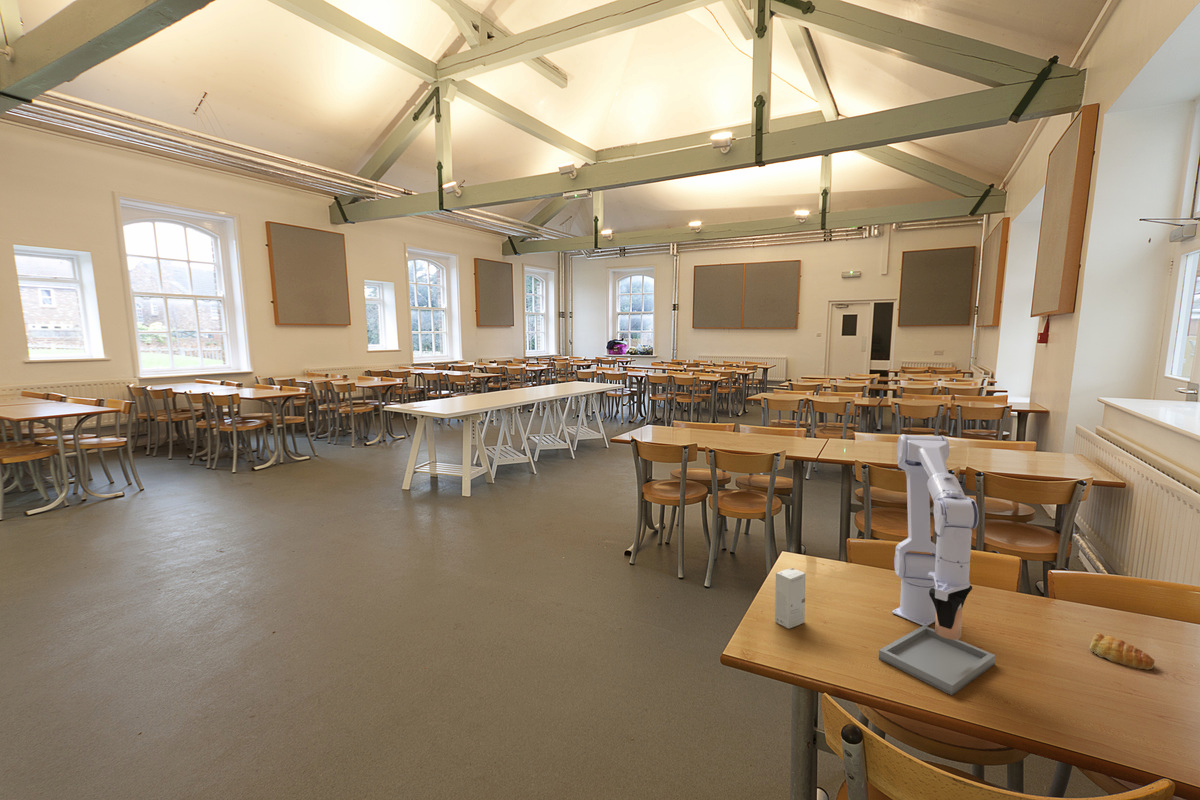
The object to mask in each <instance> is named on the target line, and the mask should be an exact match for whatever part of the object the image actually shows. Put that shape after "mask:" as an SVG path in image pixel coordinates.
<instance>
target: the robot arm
mask: <svg viewBox="0 0 1200 800" xmlns="http://www.w3.org/2000/svg"><path fill="white" fill-rule="evenodd" d="M949 443H950V442H949V440H948V438H947V437H946V436H945V435H924V434H923V435H920V434H919V435H917V434H916V435H915V434H904V433H902V434H900V436H899V437H898V438H897V444H896V462H897V467H898V468H899V469H902V470H904V473H905V477H906V496H907V497H906V498H907V499H906V501H907V509H906V510H907V538H906V539H904V540H902V541H900V542H898V543H897V545H896V546H895V548H894V549H895V554H894V558H893V559H894V560H893V562H894V572H895V574H896V576H897V577H899V578H900V579H901V580H900V581H901V582H900V598H899V600H900V601H899V603H900V604H899V607H897V608H895V609H893V610H892V611H891V613H892V614H895V615H896V616H899V617H900V618H904V619H905V620H906V619H907V620H908V621H910V622H912V623H913V622H914V624H918V625H921V626H923V625H925V626H927V627H929V626H930V625H931V624H933V623H935V620H936V613H937V618H938V623H939V626H942V627H945V628H948V629H952V627H953V624H954V621H955V617H956V613H957V610H958V608H959V606H960V604H961V607H962V609H963V608H964V604H965V601H966V599H967V597H968V595H969V593H970V592H971V591H972V590H973V586H972V585H971V581H970V568H971V567H970V566H971V564H970V563H971V552H972V551H971V550H972V535H973V530H974V529H976V528H977V526H978V524H979V520H980V519H979V518H980V517H979V509H978V508H979V507H978V504H977V502H976V500H975V499H973V498H971V497H970V496H966V495H965V492H964V491H963V488H962V486H961V484H960V482H959V479H958V478H957V477H956V475H954V474H952V473H949V469H948V466H947V460H948V458H949V456H950V444H949ZM930 499H932V502H933V519H934V532H935V533H936V543H934V542H933V541H932V537H931V535H932V534H931V506H930V505H931V502H930V501H931V500H930Z"/></svg>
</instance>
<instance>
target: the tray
mask: <svg viewBox="0 0 1200 800" xmlns="http://www.w3.org/2000/svg"><path fill="white" fill-rule="evenodd" d="M878 660H880V661H882V662H884V663H886V664H888V665H890V666H892V667H894V668H895V669H898V670H900V671H902V672H904V673H906V674H908V675H909V676H912V677H914V678H916V679H918V680H920V681H921V682H924V683H926V684H927V685H930V686H932V687H934V688H936V689H937V690H940V691H942V692H944V693H945V694H947V693H948V695H949V694H950V696H951V695H952V696H953V695H955V694H956V693H958V692H959V691H961V690H962V689H963V688H964V687H966V686H967V685H968V684H970V683H971V682H973V681H974V680H975V679H977V678H978V677H980V676H981V675H982V674H984V673H985V672H986V671H988V670H989V669H991V668H992V667H994V665H996V654H994V653H993V652H992V653H991V652H989V651H986V650H984V649H982V648H979V647H977V646H974V645H972V644H970V643H968V642H965V641H963V640H960V639H957V640H952V639H947V638H944V637H941V636H939V635H938V634H937V633H936V632H935V628H931V627H929V626H925V625H923V626H922V625H921V626H920V627H918V628H916V629H915V630H914V629H913V631H911V632H909V633H907V634H906V635H903V636H901V637H900V638H898V639H896V640H894V641H893V642H891V643H889V644H887V645H885V646H883V647H882V648H880V649H879V650H878Z"/></svg>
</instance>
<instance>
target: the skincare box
mask: <svg viewBox="0 0 1200 800" xmlns="http://www.w3.org/2000/svg"><path fill="white" fill-rule="evenodd" d="M774 595H775V597H774V598H775V600H774V601H775V602H774V604H775V605H774V622H775V623H776V624H778V625H781V626H782V627H784V628H786V629H792V628H794V627H797V626H800V625H801V624H804V623H805V622H806V621H805V620H806V619H805V618H806V612H805V611H806V573H805V572H803V571H801V570H798V569H795V568H794V567H793V568H792V567H791V568H790V567H789V568H787V569H782V570H781V571H779V572H775V594H774Z"/></svg>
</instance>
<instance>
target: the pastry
mask: <svg viewBox="0 0 1200 800" xmlns="http://www.w3.org/2000/svg"><path fill="white" fill-rule="evenodd" d="M1089 650H1090V651H1091V652H1092V653H1093V652H1094V653H1093V654H1095V655H1096V654H1097V655H1098V657H1100V658H1105V659H1107V660H1108V661H1110V662H1114V663H1116V664H1120V665H1122V664H1123V665H1124V666H1128V667H1129V668H1134V669H1139V670H1141V669H1143V670H1147V671H1148V670H1152V669H1153V668H1154V666H1155V659H1154V658H1152V657H1151V656H1150V655H1149V654H1148V653H1145V652H1144V651H1143V650H1142V649H1139V648H1138V647H1135V646H1134V645H1132V644H1129V643H1128V642H1125V641H1124V640H1123V639H1118V638H1116V637H1114V636H1111V635H1107V636H1106V635H1103V634H1102V633H1099V632H1096V633H1095V634H1093V637H1092V640H1091V643H1090V645H1089ZM1097 655H1096V656H1097Z"/></svg>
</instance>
